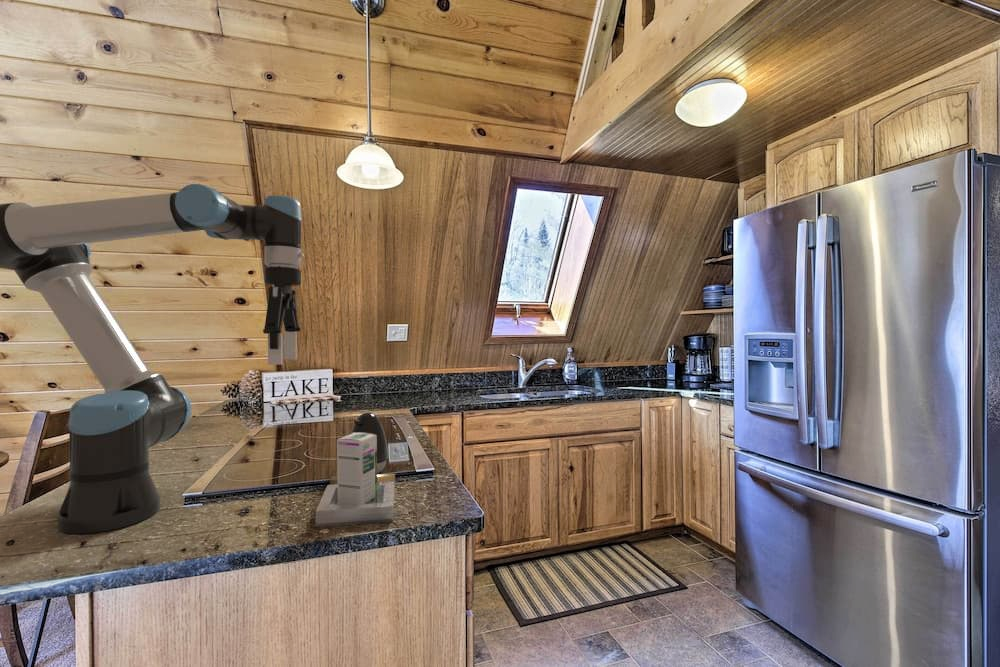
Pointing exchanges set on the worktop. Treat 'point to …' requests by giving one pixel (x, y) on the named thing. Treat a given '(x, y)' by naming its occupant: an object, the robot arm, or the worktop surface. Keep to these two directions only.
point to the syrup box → (357, 469)
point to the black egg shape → (373, 426)
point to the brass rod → (379, 478)
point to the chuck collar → (355, 508)
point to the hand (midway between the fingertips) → (283, 361)
